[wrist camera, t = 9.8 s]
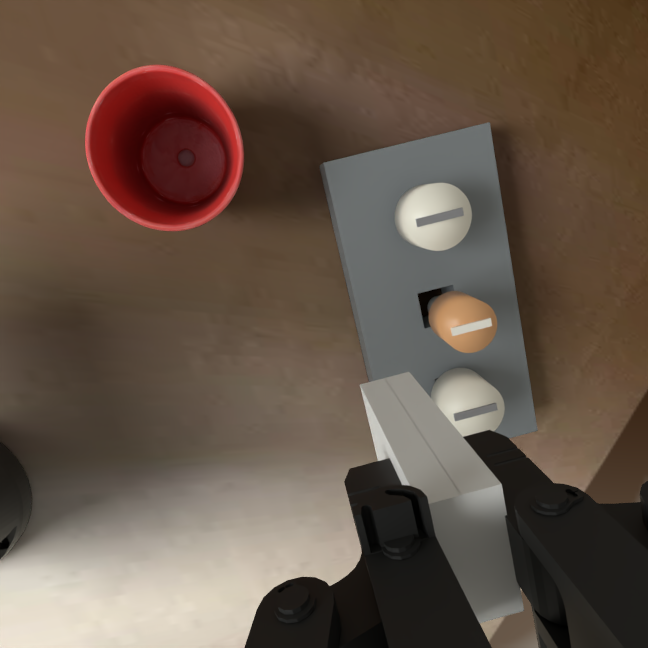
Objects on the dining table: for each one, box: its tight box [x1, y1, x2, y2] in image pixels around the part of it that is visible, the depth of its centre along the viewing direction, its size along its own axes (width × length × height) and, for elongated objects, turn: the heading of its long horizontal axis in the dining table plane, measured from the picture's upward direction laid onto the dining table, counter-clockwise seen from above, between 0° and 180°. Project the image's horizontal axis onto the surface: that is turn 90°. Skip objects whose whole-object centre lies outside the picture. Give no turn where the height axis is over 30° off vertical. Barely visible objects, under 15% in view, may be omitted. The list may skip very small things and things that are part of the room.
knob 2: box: [431, 368, 505, 437], centre depth 48 cm, size 5×5×8 cm
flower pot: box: [85, 65, 244, 231], centre depth 42 cm, size 11×11×10 cm
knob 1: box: [395, 183, 472, 251], centre depth 44 cm, size 5×5×8 cm
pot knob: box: [427, 291, 497, 353], centre depth 43 cm, size 4×4×8 cm
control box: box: [319, 122, 538, 438], centre depth 49 cm, size 14×28×4 cm, turn 13°
